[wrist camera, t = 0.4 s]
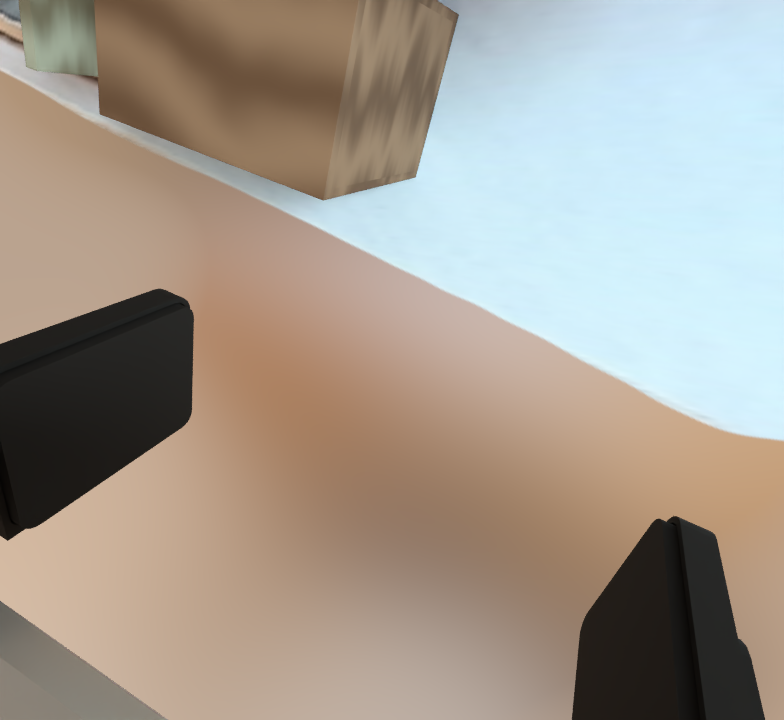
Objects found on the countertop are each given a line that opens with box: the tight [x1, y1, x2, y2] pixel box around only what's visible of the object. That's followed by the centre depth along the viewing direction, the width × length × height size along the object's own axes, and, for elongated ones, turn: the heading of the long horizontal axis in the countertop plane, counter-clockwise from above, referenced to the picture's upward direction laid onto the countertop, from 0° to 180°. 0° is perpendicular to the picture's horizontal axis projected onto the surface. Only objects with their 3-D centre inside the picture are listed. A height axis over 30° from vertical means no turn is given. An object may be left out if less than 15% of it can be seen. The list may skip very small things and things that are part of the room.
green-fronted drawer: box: [19, 0, 98, 76], centre depth 40 cm, size 11×20×12 cm, turn 75°
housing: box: [94, 0, 459, 200], centre depth 36 cm, size 12×18×16 cm, turn 75°
